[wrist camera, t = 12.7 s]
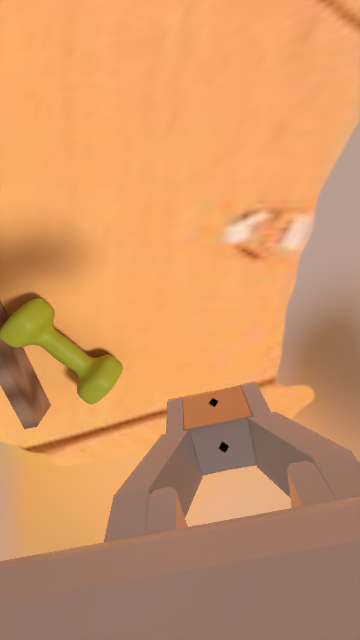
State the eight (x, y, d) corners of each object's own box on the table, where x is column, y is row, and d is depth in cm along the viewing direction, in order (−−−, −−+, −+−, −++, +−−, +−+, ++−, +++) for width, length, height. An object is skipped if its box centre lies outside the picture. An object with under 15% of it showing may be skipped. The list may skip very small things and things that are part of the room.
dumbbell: (13, 322, 41) (-18, 342, 34) (46, 285, 39) (19, 299, 33) (98, 388, 46) (85, 418, 39) (131, 358, 44) (123, 383, 37)
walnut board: (-31, 268, 38) (-59, 276, 33) (-17, 265, 38) (-44, 272, 33) (39, 407, 46) (24, 429, 42) (50, 405, 46) (37, 426, 42)
